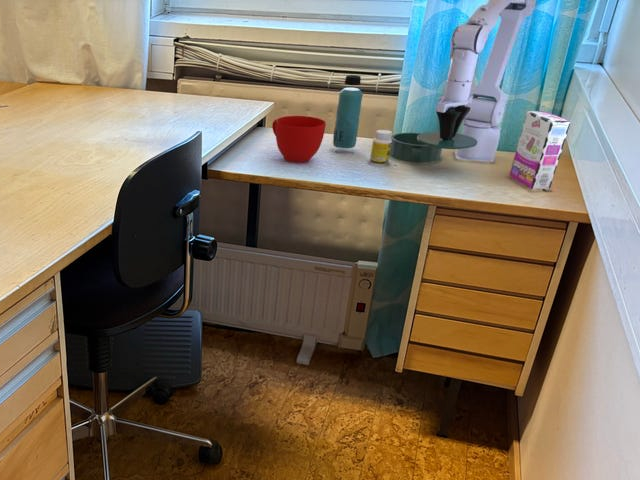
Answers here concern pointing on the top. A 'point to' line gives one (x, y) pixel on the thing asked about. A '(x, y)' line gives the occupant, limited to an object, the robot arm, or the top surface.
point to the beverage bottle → (348, 114)
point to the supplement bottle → (381, 147)
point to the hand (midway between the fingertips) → (447, 137)
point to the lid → (452, 143)
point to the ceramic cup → (298, 137)
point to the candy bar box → (539, 149)
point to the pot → (412, 149)
